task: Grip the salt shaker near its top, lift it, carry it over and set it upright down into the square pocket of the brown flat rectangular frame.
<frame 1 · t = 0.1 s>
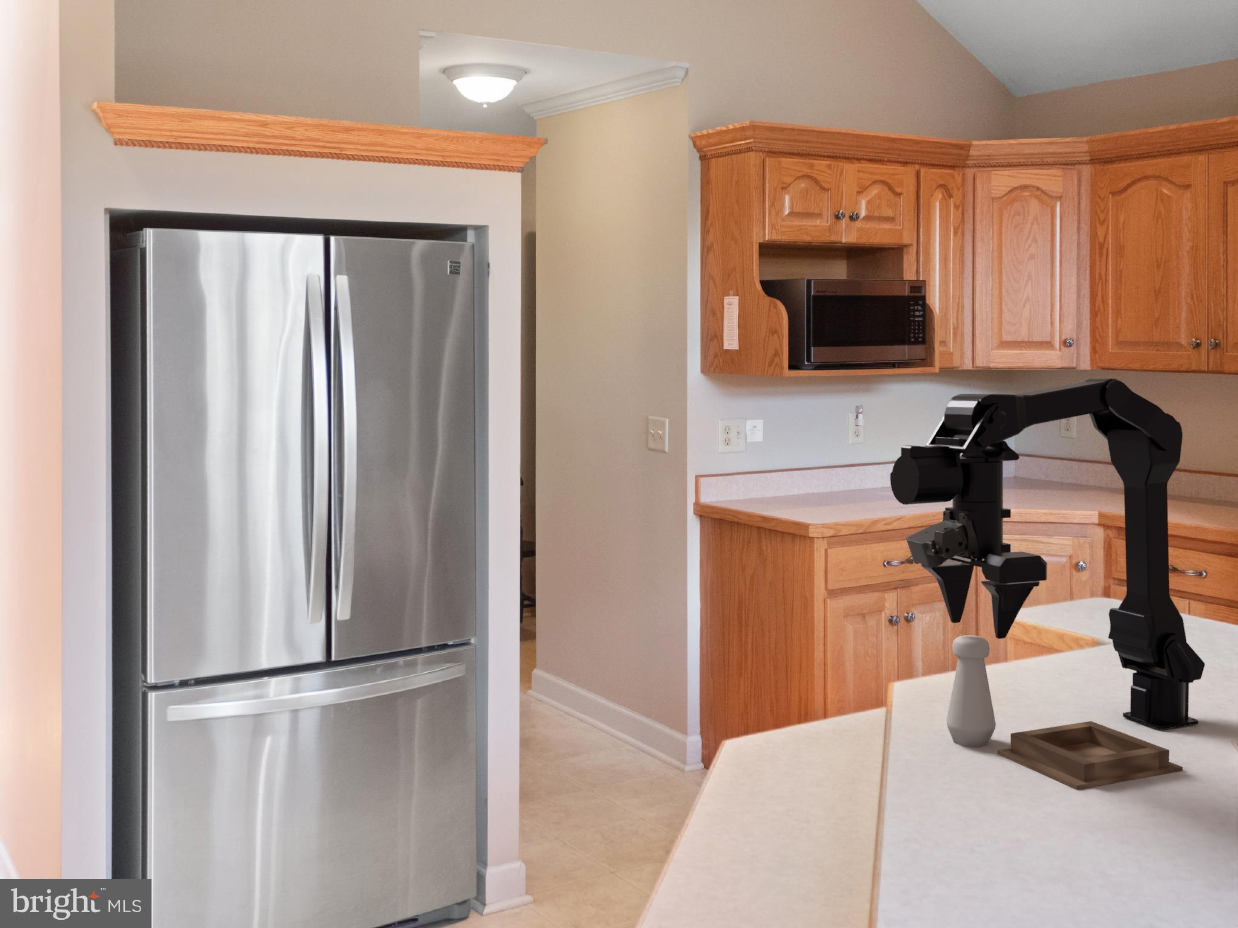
hand: (977, 630, 137), 15 cm above the worktop, fingers open, 9 cm apart
brown flat rectangular frame: (1087, 761, 133), on the worktop
salt shaker: (970, 743, 141), on the worktop
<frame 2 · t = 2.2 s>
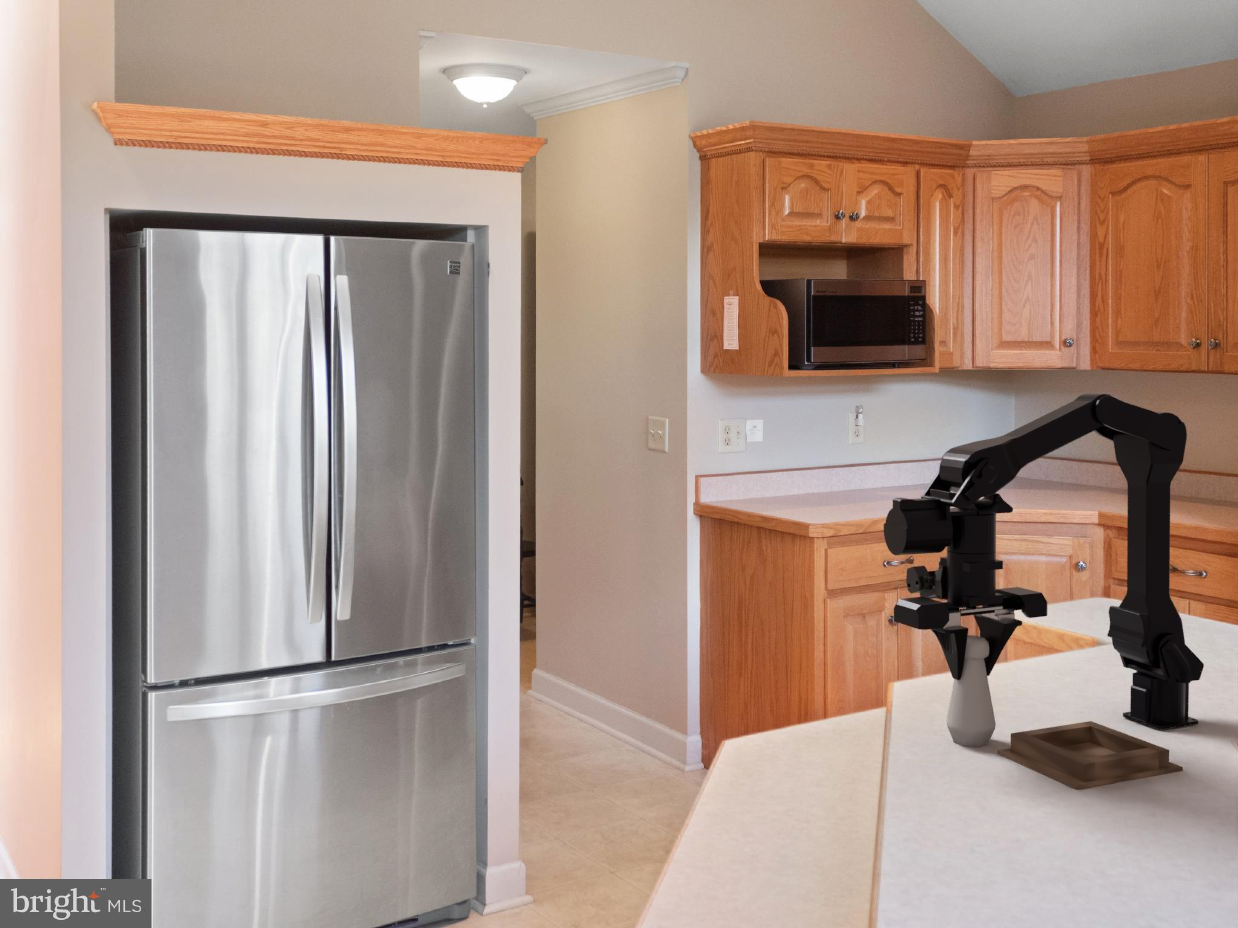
hand: (970, 677, 140), 8 cm above the worktop, fingers closed on salt shaker, 4 cm apart
salt shaker: (970, 743, 141), on the worktop, touching gripper
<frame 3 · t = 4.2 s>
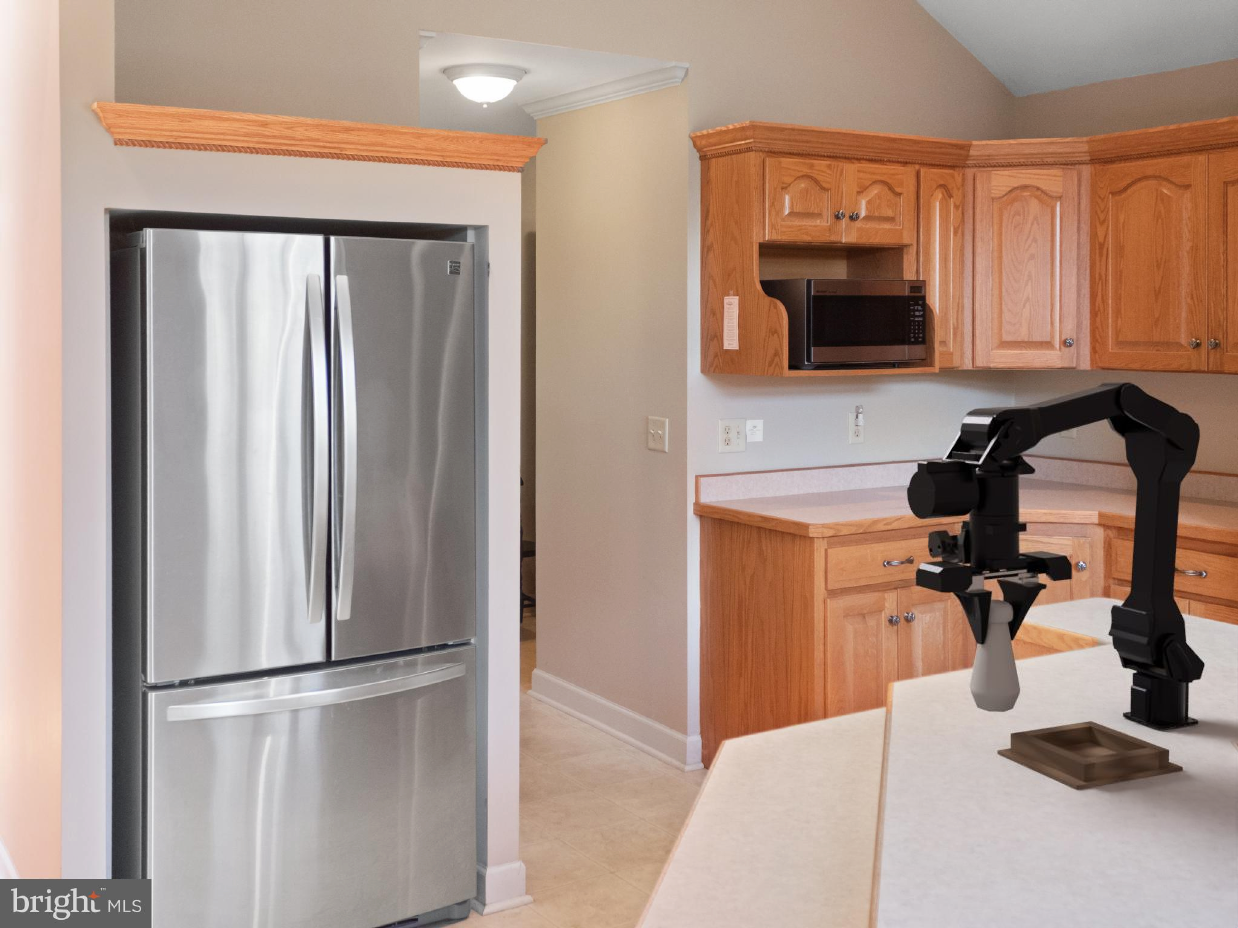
hand: (994, 641, 139), 13 cm above the worktop, fingers closed on salt shaker, 4 cm apart
salt shaker: (994, 708, 139), point 4 cm above the worktop, touching gripper
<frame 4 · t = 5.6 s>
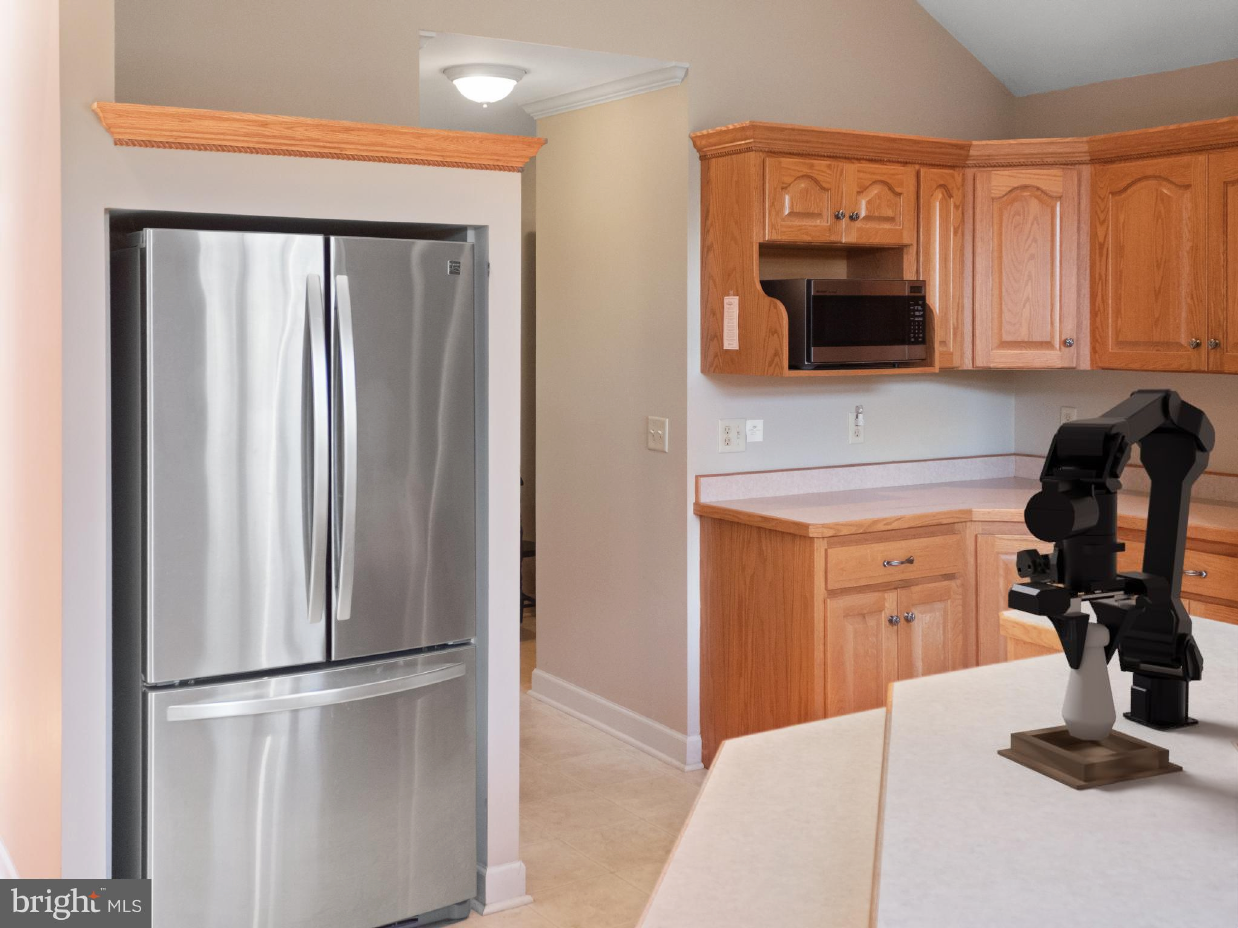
hand: (1088, 666, 132), 11 cm above the worktop, fingers closed on salt shaker, 4 cm apart
salt shaker: (1088, 736, 133), point 3 cm above the worktop, touching gripper
when the fingers open (9 cm above the worktop, at t = 6.6 s): salt shaker stays where it is, resting on brown flat rectangular frame.
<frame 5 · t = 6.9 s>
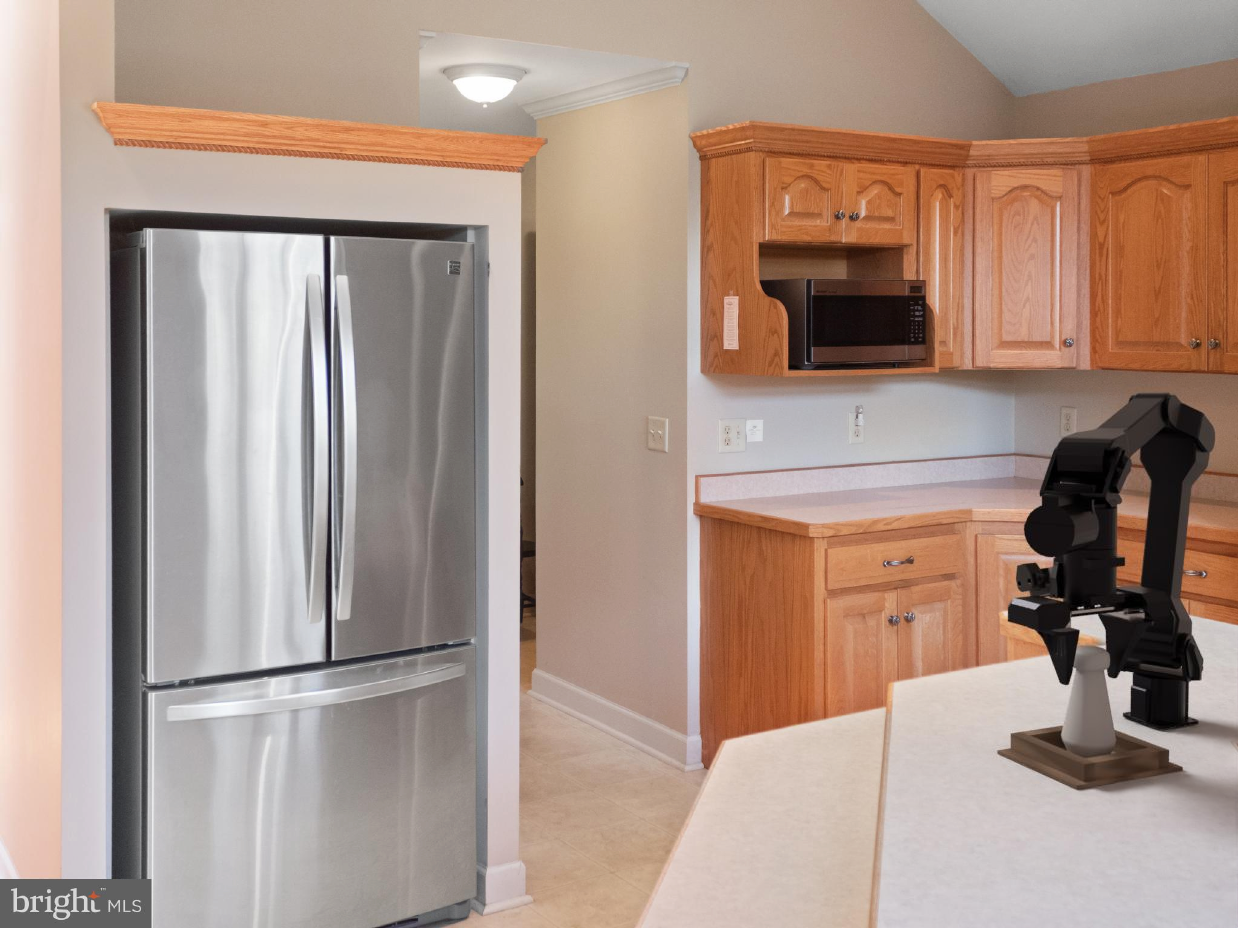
hand: (1088, 680, 132), 9 cm above the worktop, fingers open, 7 cm apart
salt shaker: (1087, 759, 133), resting on brown flat rectangular frame
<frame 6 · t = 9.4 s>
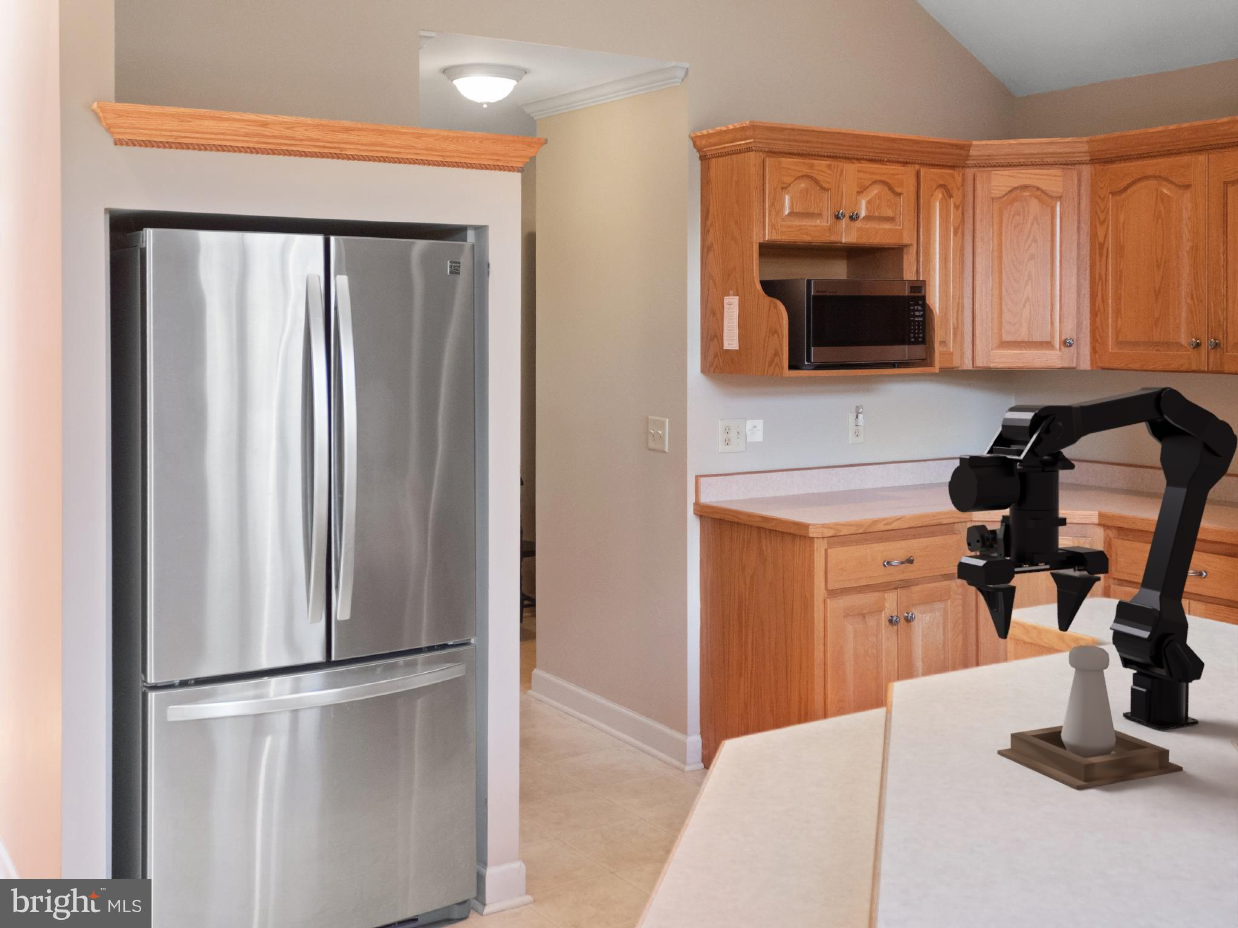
hand: (1033, 634, 141), 13 cm above the worktop, fingers open, 9 cm apart
nothing on the worktop moved.
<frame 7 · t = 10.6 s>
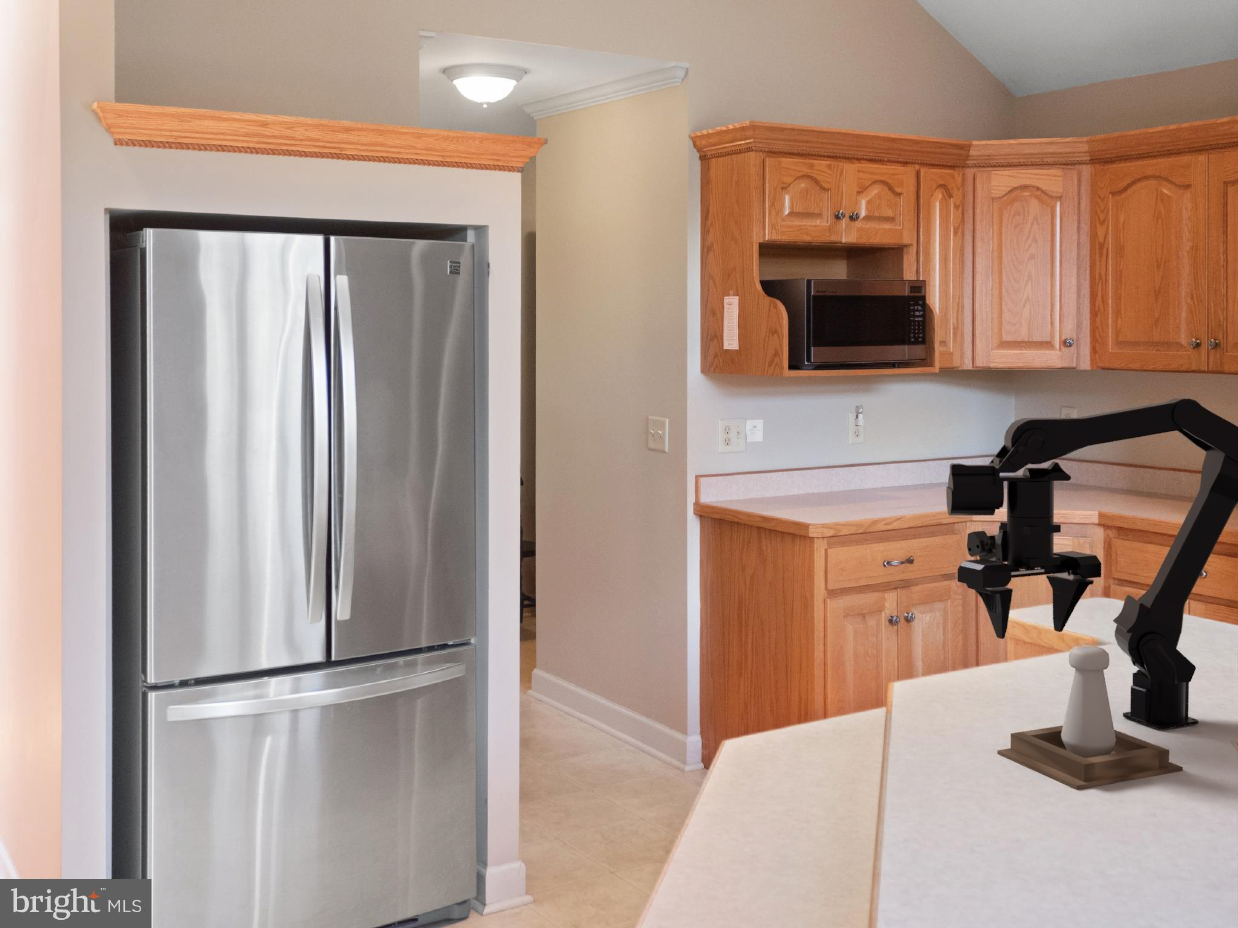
hand: (1029, 634, 149), 11 cm above the worktop, fingers open, 9 cm apart
nothing on the worktop moved.
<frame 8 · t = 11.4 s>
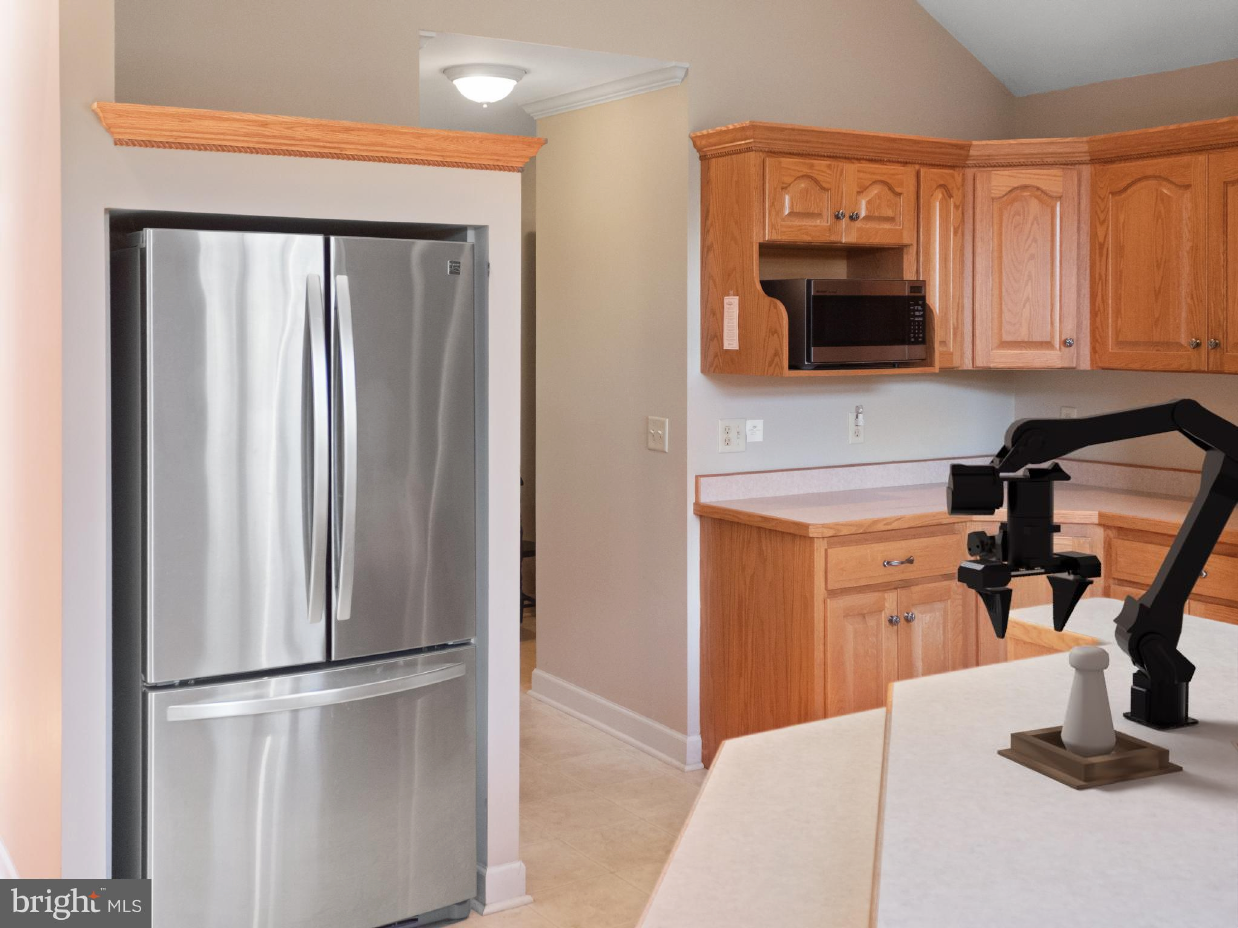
hand: (1029, 634, 149), 11 cm above the worktop, fingers open, 9 cm apart
nothing on the worktop moved.
at the end: salt shaker 0.1 cm off-centre on the brown flat rectangular frame, point 0.2 cm above the brown flat rectangular frame's base; salt shaker tilted 0°; the gripper is holding nothing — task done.
